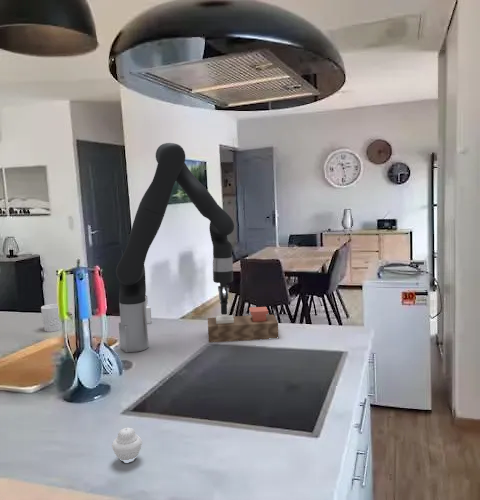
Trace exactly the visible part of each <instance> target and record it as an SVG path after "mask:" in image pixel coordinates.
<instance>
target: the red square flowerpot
mask: <svg viewBox="0 0 480 500" xmlns="http://www.w3.org/2000/svg"><path fill="white" fill-rule="evenodd" d="M248 310H249V311H248V312H249V314H250V316H252V322H260V321H266V315H269V310H268V308H267V306H253V307H251V306H250V307H249V308H248Z"/></svg>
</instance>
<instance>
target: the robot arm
mask: <svg viewBox="0 0 480 500" xmlns="http://www.w3.org/2000/svg"><path fill="white" fill-rule="evenodd" d="M155 160H156V162H157V164H156V169H155V172H154V175H153V179H152V181H151V183H150V184H149V186H148V188H147V189H146V191H145V192H144V194H143V196H142V198H141V200H140V201H139V202H140V203H139V204H138V208H137V210H136V213H135V216H134V219H133V222H132V227H131V230H130V234H129V238H128V241H127V244H126V247H125V249H124V251H123V254H122V256H121V258H120V260H119V262H118V263H117V266H116V268H115V269H116V270H115V273H116V274H115V275H116V278H117V280H118V281H119V294H118V302H119V303H118V304H119V316H120V320H119V321H120V322H118V331H119V346H120V347H119V348H120V349H121V350H123V352H125V353H127V354H128V353H136V352H137V353H138V352H142V351H144V350H147V349H148V348H149V333H148V331H149V329H148V324H147V314H146V296H147V295H146V293H147V288H146V287H147V286H146V283H147V282H146V267H145V262H146V259H147V254H148V252H149V249H150V248H151V245H152V243H153V241H154V240H155V238H156V236H157V234H158V233H159V229H160V227H161V225H162V222H163V220H164V217H165V214H166V211H167V208H168V205H169V202H170V199H171V195H172V192H173V188H174V186H175V184H176V183H177V184H178V185H179V186H180V188H181V189H182V190H183V191H184V193H185V195H187V197H188V198H189V200H190V201H191V202H192V204H193V205H194V207H195V208H196V209H197V211H198V212H199V213H200V215H202V216H203V218H205V219H208V220H209V234H210V235H209V236H210V240H211V242H212V256H213V257H212V277H213V278H212V280H213V282H214V283H216V284H219V285H217V290H218V299H219V301H220V302H219V303H220V313H221V316H227V315H228V307H227V306H228V304H229V302H228V301H229V300H228V299H229V292H230V287H229V285H228V283H229V284H230V283H232V282H233V281H234V263H233V262H234V261H233V248H232V247H233V246H232V242H230V241H229V240H228V236H229V235H231V234H232V233H234V229H235V223H234V220H233V218H232V217H231V216H230V215H229V214H228V213H227V212H226V211H225V210H224V209H223V208H222V206H220V205H219V204H218V202H217V201H216V200H215V198H214V197H213V196H212V194H211V193H210V192H209V190H208V189H207V188H206V187H205V186H204V185H203V183H201V182H200V181H199V179H197V177H196V176H195V175H194V174H193V172H192V171H191V170H190V169H189V168H188V166H187V164H186V152H185V150H184V148H183V147H182V146H181V145H180V144H178V143H173V142H165V143H162V144H161V145H159V146H158V147H157V149H156V152H155Z"/></svg>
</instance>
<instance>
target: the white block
mask: <svg viewBox="0 0 480 500" xmlns="http://www.w3.org/2000/svg"><path fill="white" fill-rule="evenodd" d="M233 317H234V315H233V314H232V315H228V314H226V315H216V316H215V318H216V324H224V323H234V318H233Z"/></svg>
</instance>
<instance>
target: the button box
mask: <svg viewBox="0 0 480 500" xmlns="http://www.w3.org/2000/svg"><path fill="white" fill-rule="evenodd" d="M233 318H234V323H224V324H216V317H207V333H208V336H207V337H208V338H207V339H208V343H223V342H238V341H239V342H240V341H242V342H243V341H259V340H260V339H262V340H270V339H269V338H277V337H278V338H279V322H278V320H277V318H276V316H275V315H274V314H266V321H260V322H252V315H239V316H238V315H237V316H236V315H235V316H233Z"/></svg>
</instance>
